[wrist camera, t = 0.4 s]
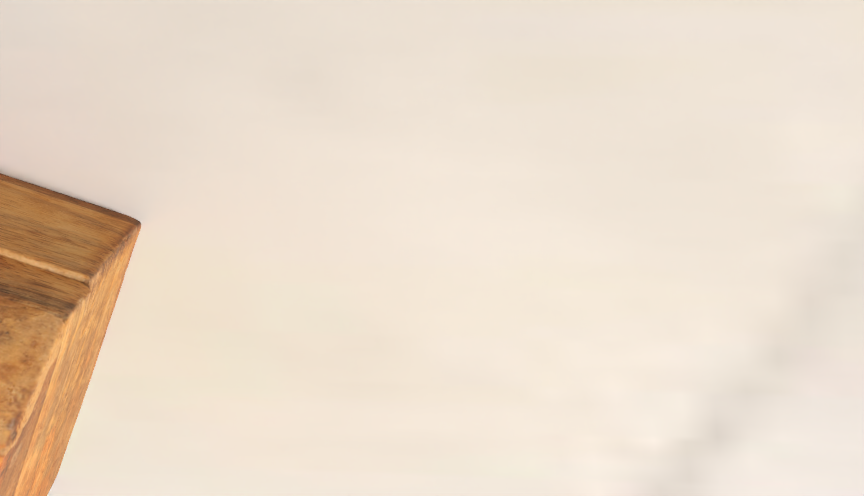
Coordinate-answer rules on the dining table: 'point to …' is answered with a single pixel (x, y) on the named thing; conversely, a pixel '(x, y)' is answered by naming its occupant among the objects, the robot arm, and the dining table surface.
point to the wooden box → (51, 321)
